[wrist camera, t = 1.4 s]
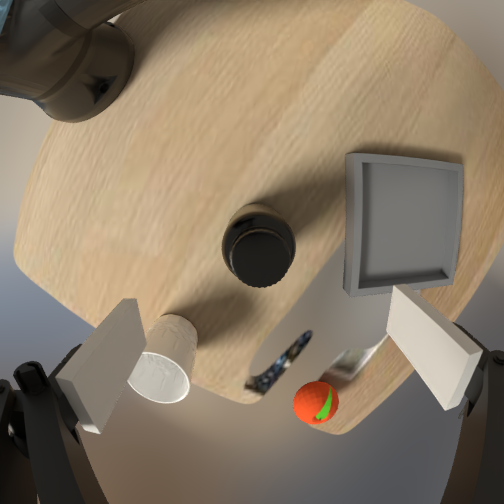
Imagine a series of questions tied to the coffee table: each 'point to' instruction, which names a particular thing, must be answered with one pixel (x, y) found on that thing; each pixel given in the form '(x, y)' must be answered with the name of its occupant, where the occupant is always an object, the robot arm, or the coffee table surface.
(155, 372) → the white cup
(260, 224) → the supplement bottle
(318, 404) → the clementine
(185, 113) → the coffee table surface
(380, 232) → the tray
